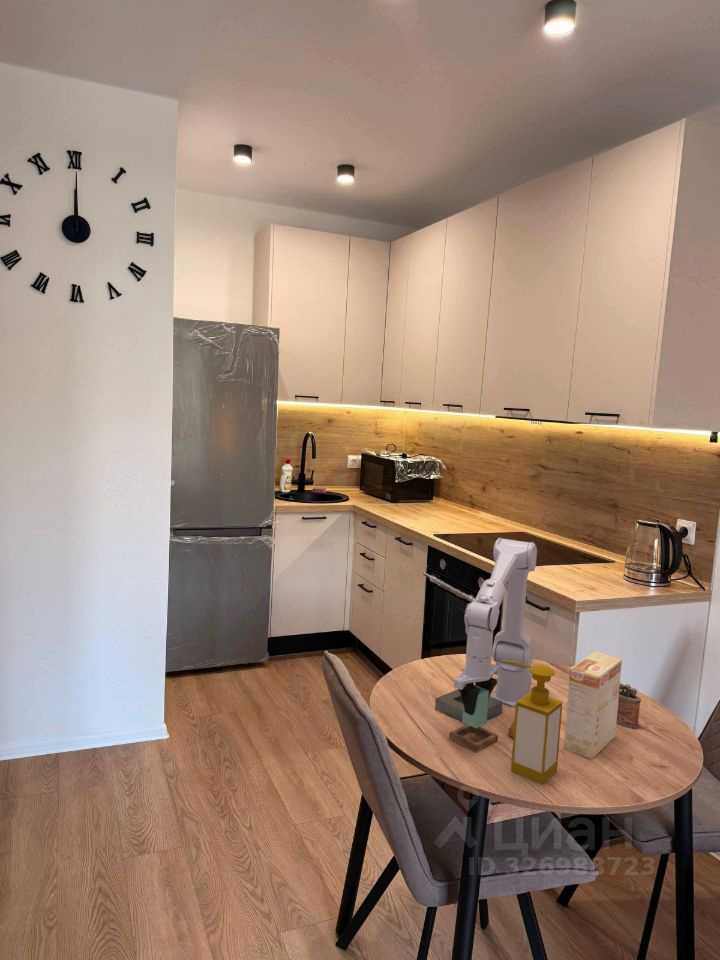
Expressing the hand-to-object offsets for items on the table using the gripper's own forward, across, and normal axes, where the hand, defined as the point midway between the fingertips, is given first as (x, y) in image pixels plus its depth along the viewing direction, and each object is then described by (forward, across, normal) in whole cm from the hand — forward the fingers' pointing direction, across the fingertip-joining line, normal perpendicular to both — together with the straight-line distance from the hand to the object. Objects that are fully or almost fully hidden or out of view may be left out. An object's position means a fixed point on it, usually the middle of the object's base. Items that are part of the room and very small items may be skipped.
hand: (475, 710), depth 157 cm
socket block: (+7, -11, -10) cm, 16 cm away
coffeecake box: (+8, -21, +18) cm, 29 cm away
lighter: (+8, -37, +18) cm, 42 cm away
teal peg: (+3, 0, 0) cm, 3 cm away
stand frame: (+7, 0, 0) cm, 7 cm away
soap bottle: (+7, +1, +14) cm, 16 cm away
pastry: (+8, -13, +6) cm, 16 cm away
